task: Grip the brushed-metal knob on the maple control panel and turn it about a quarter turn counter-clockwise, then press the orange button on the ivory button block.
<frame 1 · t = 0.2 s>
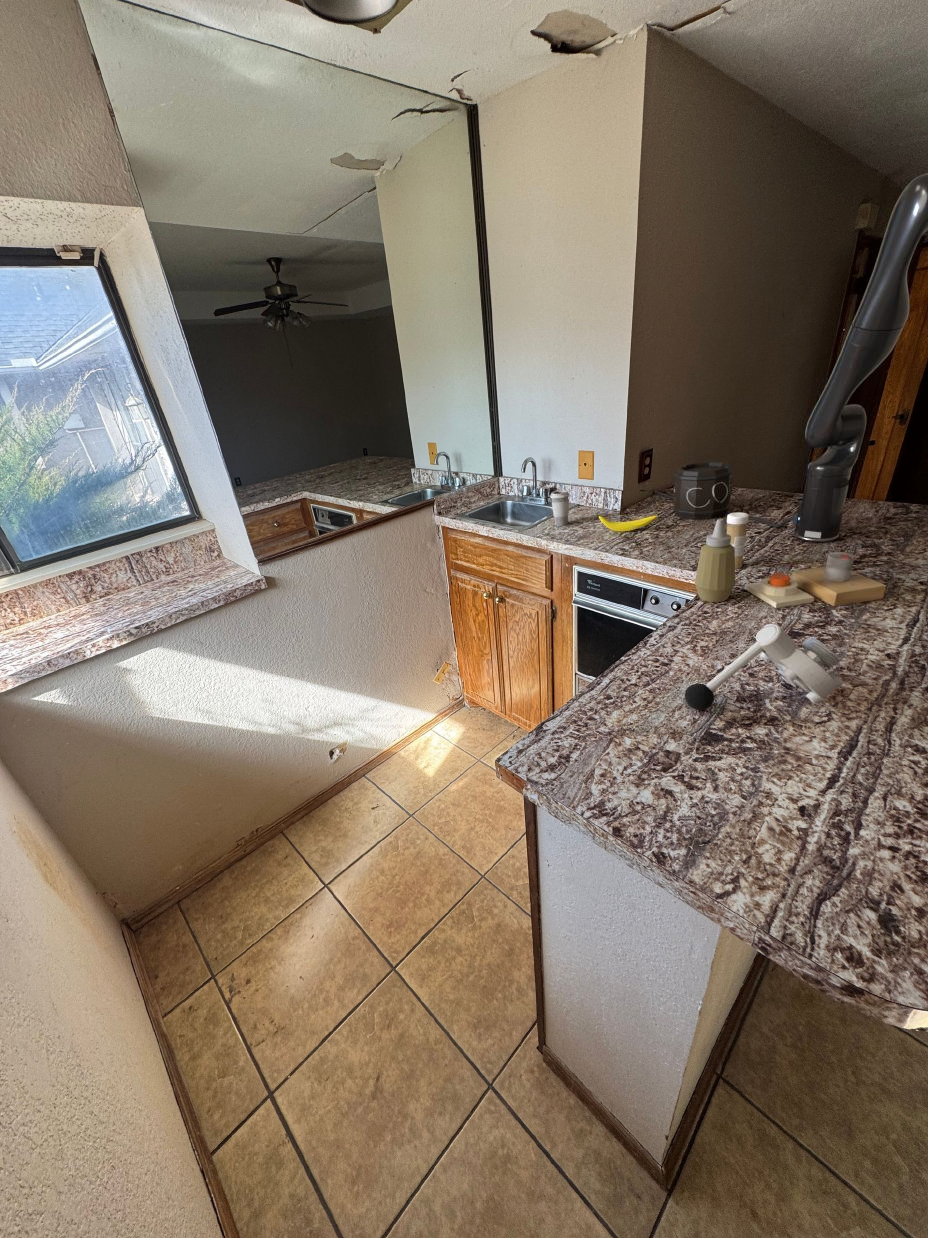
banana: (626, 532, 159), on the countertop
panel: (833, 590, 103), on the countertop
valve: (756, 701, 75), on the countertop
button block: (777, 595, 105), on the countertop
button: (779, 580, 103), point 4 cm above the countertop, slide at 0.2 cm
knob: (839, 566, 100), point 6 cm above the countertop, hinge at 0.0°
squeeze bottle: (713, 598, 108), on the countertop
sprinkles bottle: (732, 566, 122), on the countertop
octagonal grey canister: (702, 513, 165), on the countertop
cup: (561, 524, 177), on the countertop
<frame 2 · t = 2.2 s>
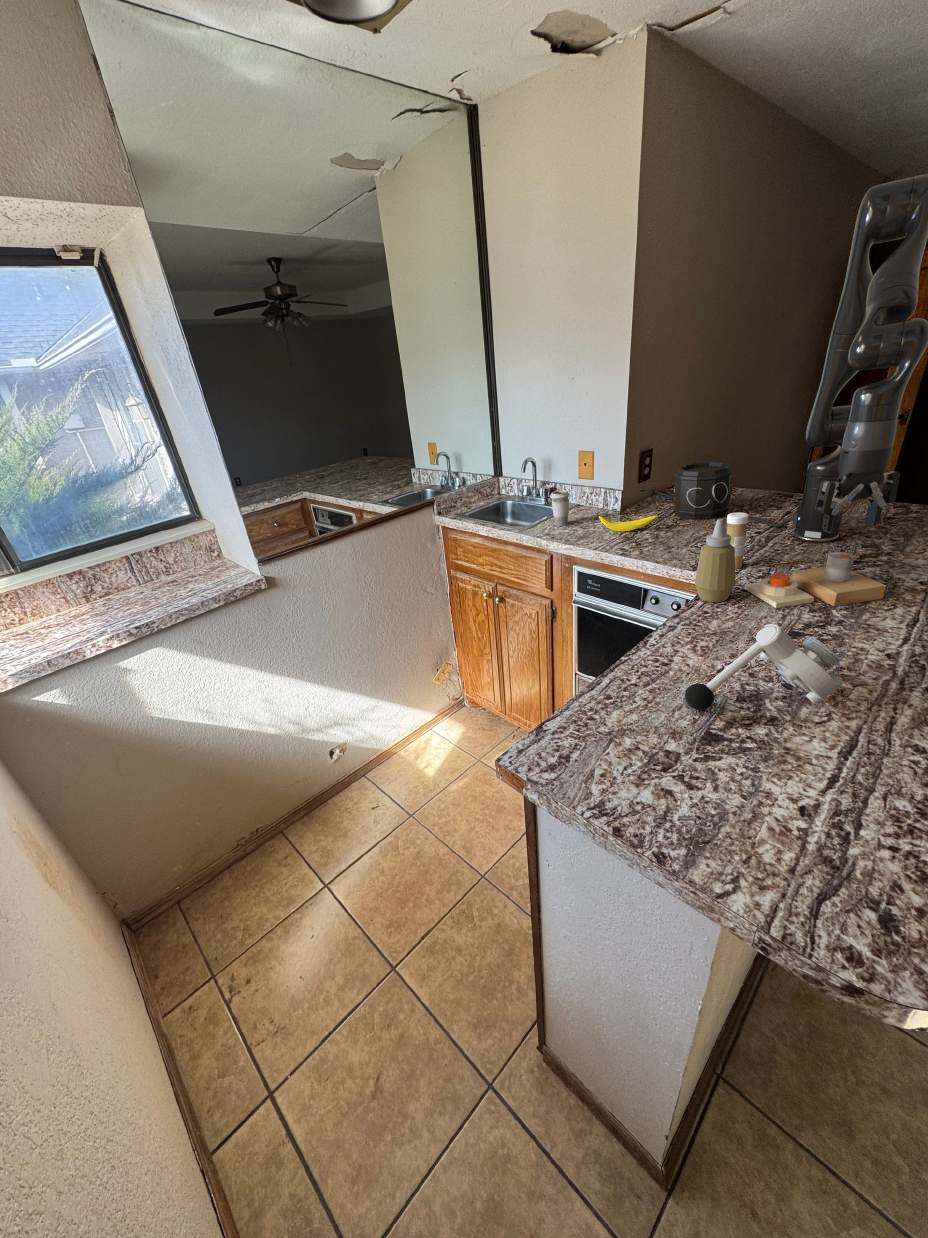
hand: (849, 528, 96), 14 cm above the countertop, tool pointing down, fingers open, 8 cm apart
nothing on the countertop moved.
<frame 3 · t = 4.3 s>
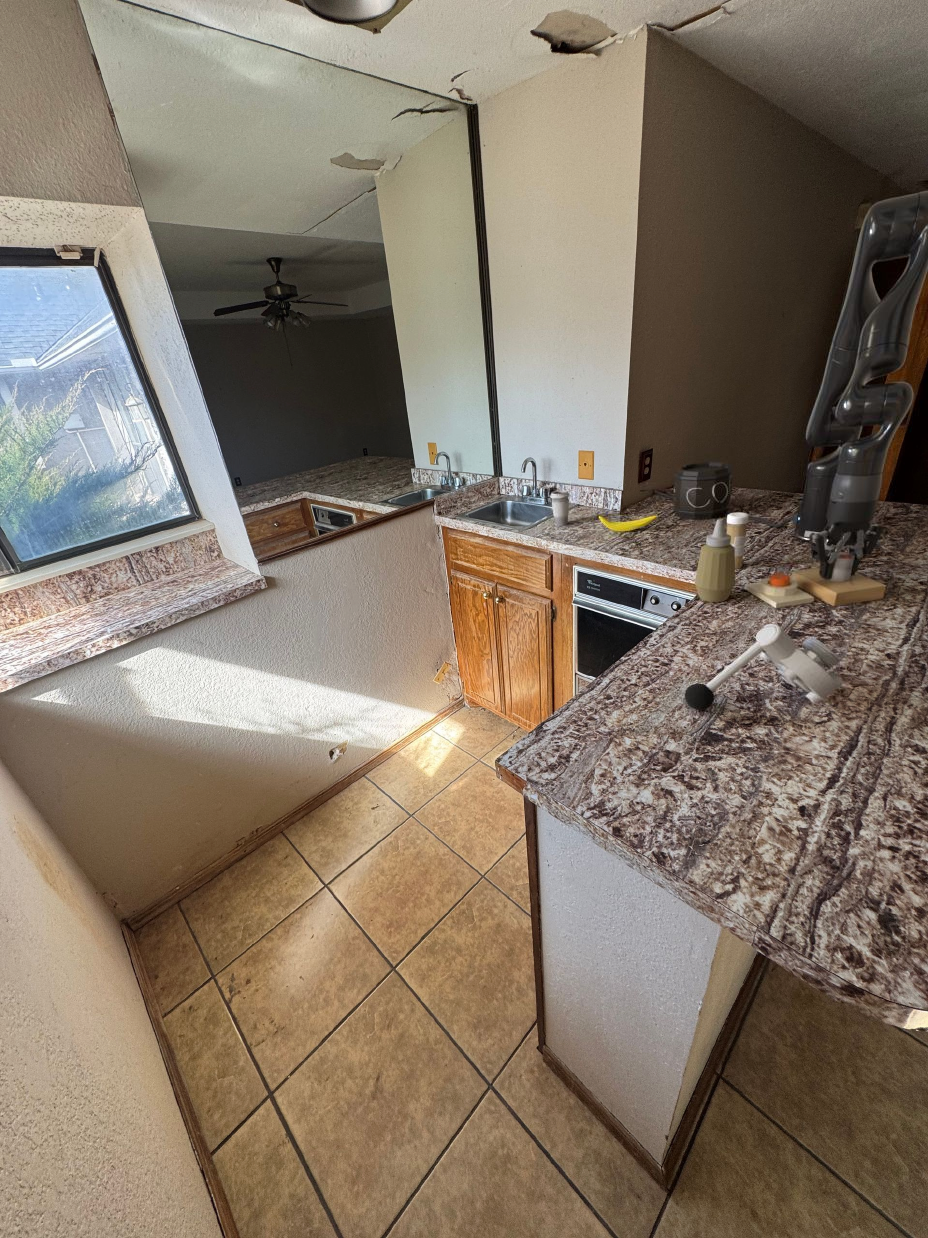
hand: (837, 575, 101), 4 cm above the countertop, tool pointing down, fingers closed on knob, 4 cm apart
knob: (839, 566, 100), point 6 cm above the countertop, hinge at 0.2°, touching gripper
everything else where it was.
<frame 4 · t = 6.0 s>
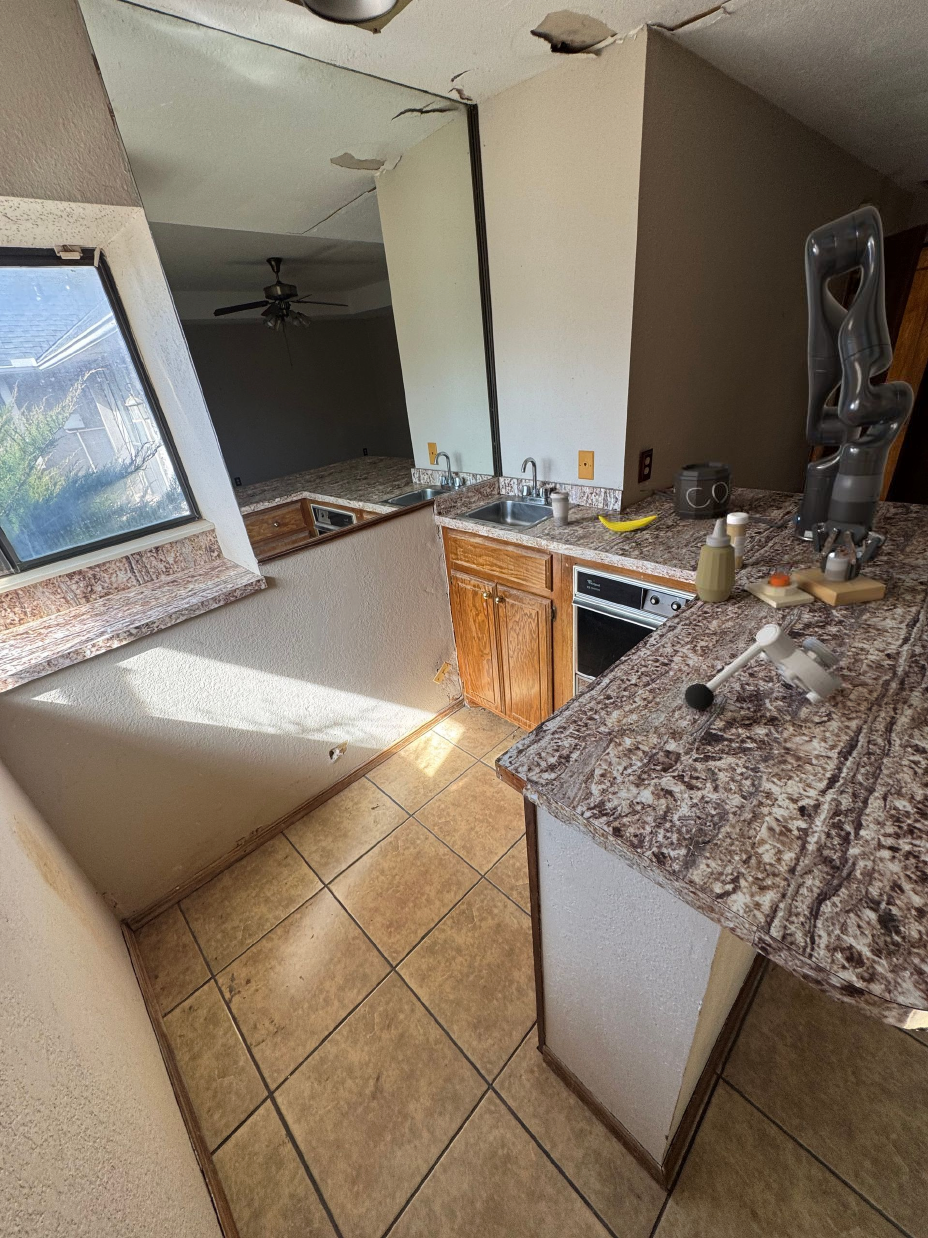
hand: (838, 575, 101), 4 cm above the countertop, tool pointing down, fingers closed on knob, 4 cm apart
knob: (839, 566, 100), point 6 cm above the countertop, hinge at 110.1°, touching gripper
everything else where it was.
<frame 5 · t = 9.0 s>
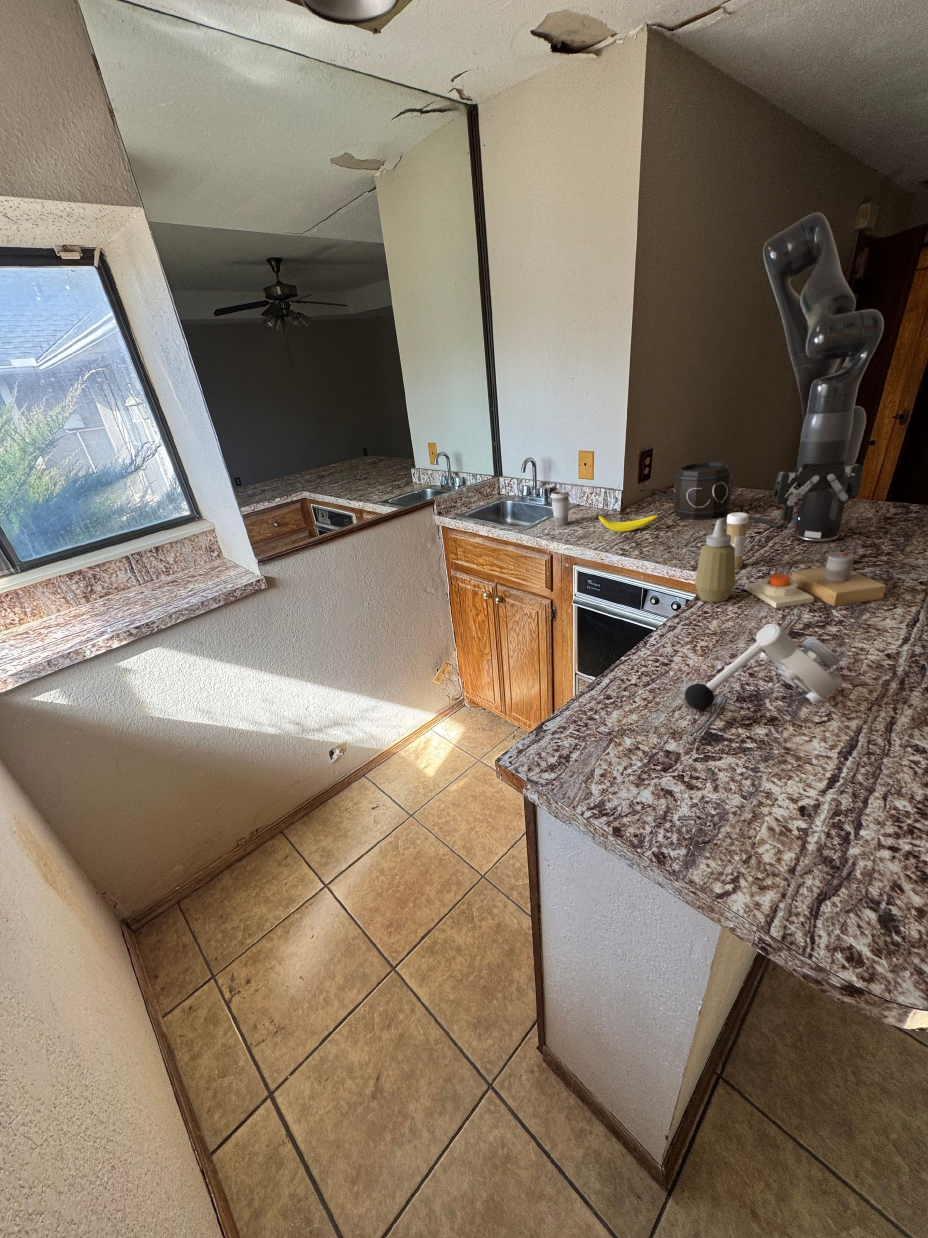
hand: (810, 520, 97), 16 cm above the countertop, tool pointing down, fingers open, 8 cm apart
knob: (839, 566, 100), point 6 cm above the countertop, hinge at 110.2°
everything else where it was.
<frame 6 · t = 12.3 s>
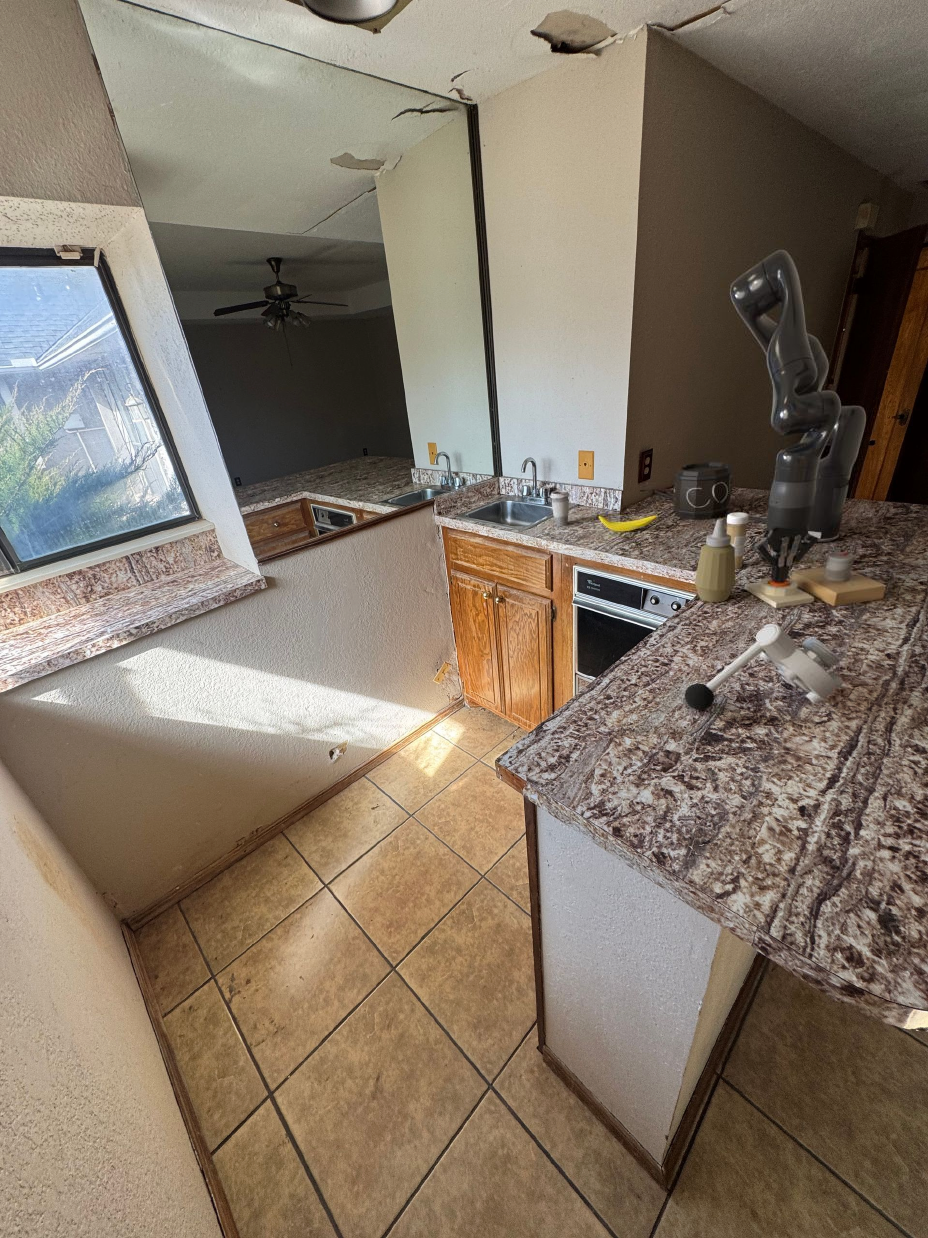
hand: (778, 581, 103), 3 cm above the countertop, tool pointing down, fingers closed
button: (778, 584, 104), point 2 cm above the countertop, slide at -0.9 cm, touching gripper
everything else where it was.
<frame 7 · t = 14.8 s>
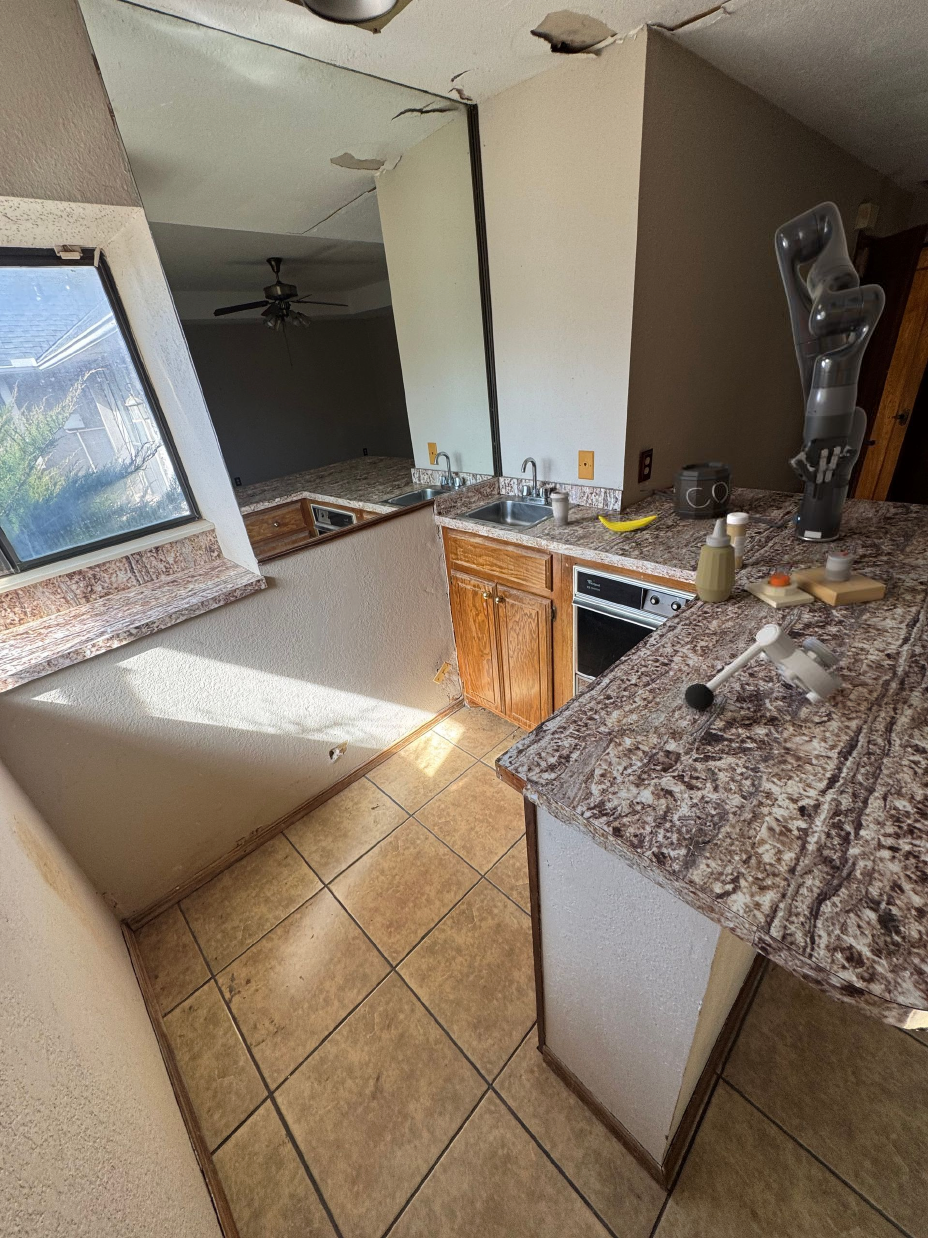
hand: (816, 499, 100), 19 cm above the countertop, tool pointing down, fingers closed
button: (779, 580, 103), point 4 cm above the countertop, slide at 0.2 cm
everything else where it was.
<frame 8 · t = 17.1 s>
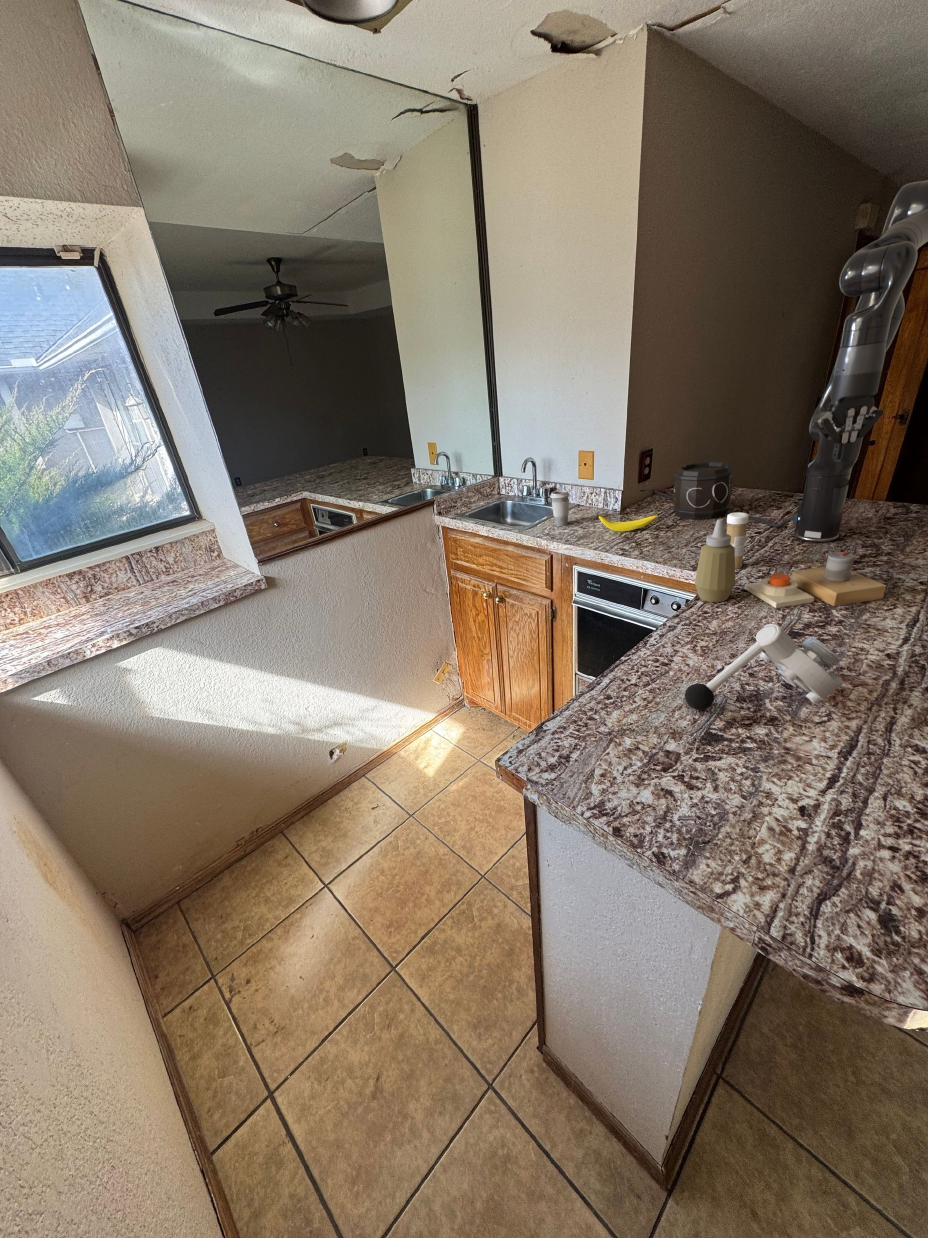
hand: (840, 460, 102), 25 cm above the countertop, tool pointing down, fingers closed
nothing on the countertop moved.
at the end: knob at +110° (first picture: +0°); button pushed in 1.1 cm at the most during the clip, back to 0.2 cm at the end; button slide at 0.2 cm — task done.
